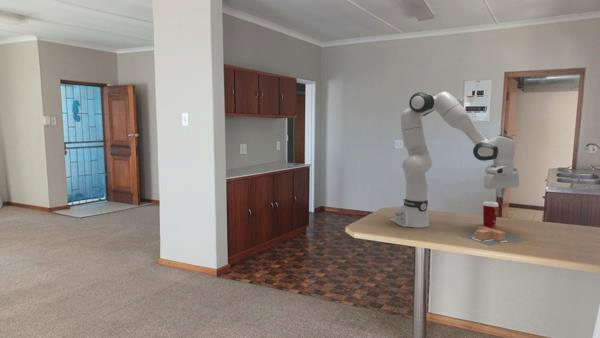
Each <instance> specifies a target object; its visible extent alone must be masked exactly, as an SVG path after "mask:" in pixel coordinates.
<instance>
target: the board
mask: <svg viewBox="0 0 600 338" xmlns="http://www.w3.org/2000/svg"><path fill="white" fill-rule="evenodd" d="M458 236H459V237H461V238H465V239H468V240H471V241H473V242H477V243H480V244H483V245H486V246H495V245H501V244H507V243H513V242H517V241H518V242H519V241H524V240H526V238H525V237H520V236H518V235H514V234H511V233H508V232H507V233H506V232H505V239H504V241H499V242H498V241H495V240H493V239H490V240H484V241H481V240H478V239H475V232H472V233H466V234H460V235H459V234H458Z"/></svg>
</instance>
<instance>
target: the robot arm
mask: <svg viewBox="0 0 600 338" xmlns="http://www.w3.org/2000/svg"><path fill="white" fill-rule="evenodd" d="M408 102H409V103H408V104H409V108H406V109H404V110H402V112H401V114H400V125H401V126H400V127H401V134H402V140H403V146H404V147H405V149H406V152H407V155H408V156H407V157H406V158H405V159H404V160H403V161H402V165H401V166H402V169H403V172H404V178H405V185H406V190H405V198H404V199H402V201H403V205H400V207H399V208H397V209H396V210H395V212H394V213H395V214H394V217H392V218H390V221H391V222H393V223H395V224H397V225H398V226H400V227H405V228H407V227H408V228H420V229H421V228H428V227H429V226H430V220H429V209H428V206H429V201H428V184H427V179H426V178H427V177H426V173H427V172H428V171H429V170H430V169H431V168H432V167H433V160H432V157H431V156H430V152H429V149H428V146H427V143H426V139H425V133H424V127H423V121H422V119H423V117H425V116H427V115H429V114H430V113H432V112H437V113H438V115H440V117H441V119H442V120H444V122H445V123H446V124H448V125H449V126H450V127H452V128H453V129H456V130H459V131H460V132H463V133H464V134H465V136H467V137H468V138H469V139H470V141H471V142H472V143H473V144H474V147H473V149H472V153H473V156H474V158H475V159H477V160H478V161H481V162H486V161H493V163H492V164H491V165H489V166H487V167H485V168H484V172H485V174H484V179H483V187H484V189H488V190H495V191H496V196H497V198H504V197H505V194H506V192H507V191H508V190H507V189H509V188H518V187H519V185H520V184H519V183H520V175H519V170H518V169H517V168H514V164H515V162H514V156H515V151H516V145H515V144H516V143H515V141H516V140H515V139H514V138H513V137H512V136H509V135H504V134H503V135H502V134H497V135H496V136H494V137H492V138H490V139H489V138H488V137H487V136H486V135H484V133H483V132H482V131H481V130H480V129H479V128H478V127H477V126H476V124H475V123H474V122H473V120H472V119H471V117H470V116H469V114H468V112H467V110H466V109H465V108H464V106H463V105H462V104H461V103H460V101H459V100H458V99H457V98H456V97H454V95H452V94H451V93H450V92H448V91H445V90H444V91H440V92H438V93H437V94H435V95H434V94H432V93H429V92H427V91H426V92H424V91H422V92H416V93H414V94H412V96H411V97H410V98H409V101H408Z"/></svg>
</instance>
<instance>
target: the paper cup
mask: <svg viewBox="0 0 600 338" xmlns="http://www.w3.org/2000/svg"><path fill="white" fill-rule="evenodd" d="M482 205H483V208H482V209H483V213H482V214H483V217H482V218H483V219H482V220H483V221H482V222H483V226H485V227H488V228H492V229H495V228H496V226H497V225H496V224H497V216H498V211H499V210H498V208H499V203H498V202H496V201H487V200H486V201H483V203H482Z"/></svg>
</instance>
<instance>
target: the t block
mask: <svg viewBox="0 0 600 338" xmlns="http://www.w3.org/2000/svg"><path fill="white" fill-rule="evenodd" d="M474 233H475V239H478V240H481V241H484V240H490V239H493V240H495V241H498V242H499V241H504V239H505V233H506V232H505V231H502V230H499V229H495V228H488V227H485V226H484V225H483V226H478V227H477V229H475V232H474Z"/></svg>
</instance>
